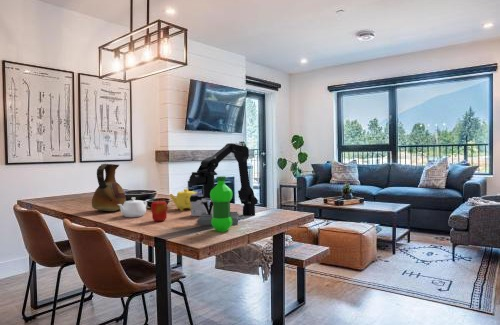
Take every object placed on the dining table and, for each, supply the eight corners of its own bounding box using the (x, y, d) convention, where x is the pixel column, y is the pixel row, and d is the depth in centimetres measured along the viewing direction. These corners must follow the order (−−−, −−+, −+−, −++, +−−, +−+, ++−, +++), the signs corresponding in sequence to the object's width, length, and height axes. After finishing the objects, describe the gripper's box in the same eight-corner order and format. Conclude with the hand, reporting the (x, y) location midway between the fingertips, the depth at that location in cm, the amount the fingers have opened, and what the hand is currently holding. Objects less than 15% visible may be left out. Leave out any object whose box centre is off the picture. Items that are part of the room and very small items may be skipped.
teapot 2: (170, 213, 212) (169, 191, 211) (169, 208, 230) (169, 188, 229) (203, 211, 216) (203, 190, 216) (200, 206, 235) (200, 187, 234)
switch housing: (238, 218, 192) (238, 211, 192) (237, 224, 176) (237, 217, 176) (201, 218, 192) (201, 212, 192) (197, 225, 176) (197, 217, 176)
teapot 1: (138, 212, 216) (137, 194, 215) (155, 213, 210) (155, 195, 209) (109, 218, 196) (108, 199, 196) (127, 220, 190) (126, 200, 190)
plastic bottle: (237, 230, 163) (236, 176, 162) (217, 234, 157) (216, 178, 156) (225, 226, 171) (225, 175, 170) (206, 230, 165) (205, 176, 164)
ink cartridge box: (210, 214, 204) (209, 189, 203) (207, 216, 198) (206, 191, 198) (194, 214, 206) (193, 189, 205) (190, 216, 200) (190, 190, 200)
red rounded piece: (151, 223, 183) (150, 200, 182) (151, 220, 191) (150, 198, 190) (168, 221, 185) (167, 199, 185) (167, 218, 193) (166, 197, 193)
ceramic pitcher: (131, 208, 230) (130, 162, 229) (114, 214, 210) (113, 164, 209) (104, 208, 233) (103, 162, 232) (85, 213, 214) (83, 164, 213)
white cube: (214, 214, 190) (214, 207, 190) (213, 215, 187) (213, 208, 187) (206, 214, 190) (206, 207, 190) (206, 215, 187) (205, 208, 187)
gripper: (228, 182, 187) (228, 211, 188) (192, 183, 187) (193, 212, 188) (226, 184, 176) (227, 215, 177) (189, 185, 176) (190, 216, 177)
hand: (209, 214), depth 180 cm, fingers closed
